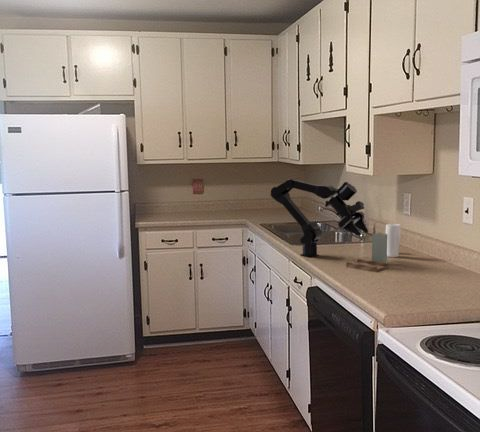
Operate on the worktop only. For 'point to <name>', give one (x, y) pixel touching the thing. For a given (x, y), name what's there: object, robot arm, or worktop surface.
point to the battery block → (379, 247)
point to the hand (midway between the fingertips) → (364, 233)
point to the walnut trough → (367, 265)
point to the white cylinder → (393, 239)
